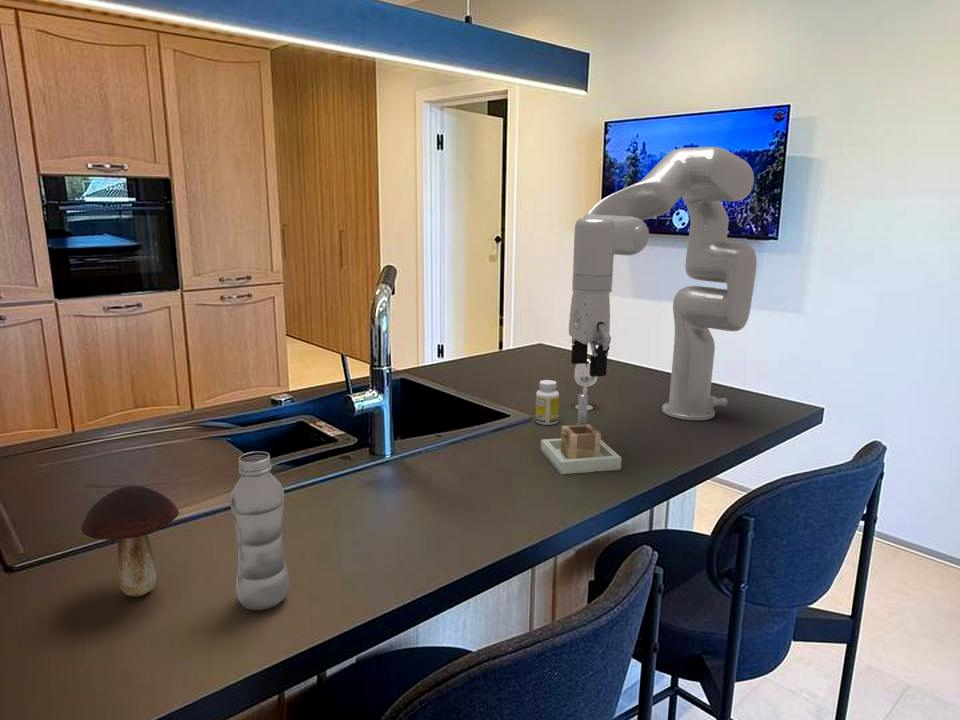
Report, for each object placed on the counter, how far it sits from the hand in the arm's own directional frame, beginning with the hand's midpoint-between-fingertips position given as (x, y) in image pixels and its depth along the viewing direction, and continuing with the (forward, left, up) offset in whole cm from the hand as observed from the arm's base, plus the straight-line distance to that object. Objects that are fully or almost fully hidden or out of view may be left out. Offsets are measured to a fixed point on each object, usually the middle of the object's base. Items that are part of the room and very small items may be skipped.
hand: (588, 369), depth 132 cm
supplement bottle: (0, -23, -19) cm, 30 cm away
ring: (+1, +1, -18) cm, 18 cm away
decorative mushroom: (+75, +34, -19) cm, 85 cm away
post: (-4, -11, -19) cm, 22 cm away
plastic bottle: (+59, +39, -19) cm, 73 cm away
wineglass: (-13, -32, -19) cm, 39 cm away
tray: (+1, +1, -19) cm, 19 cm away
